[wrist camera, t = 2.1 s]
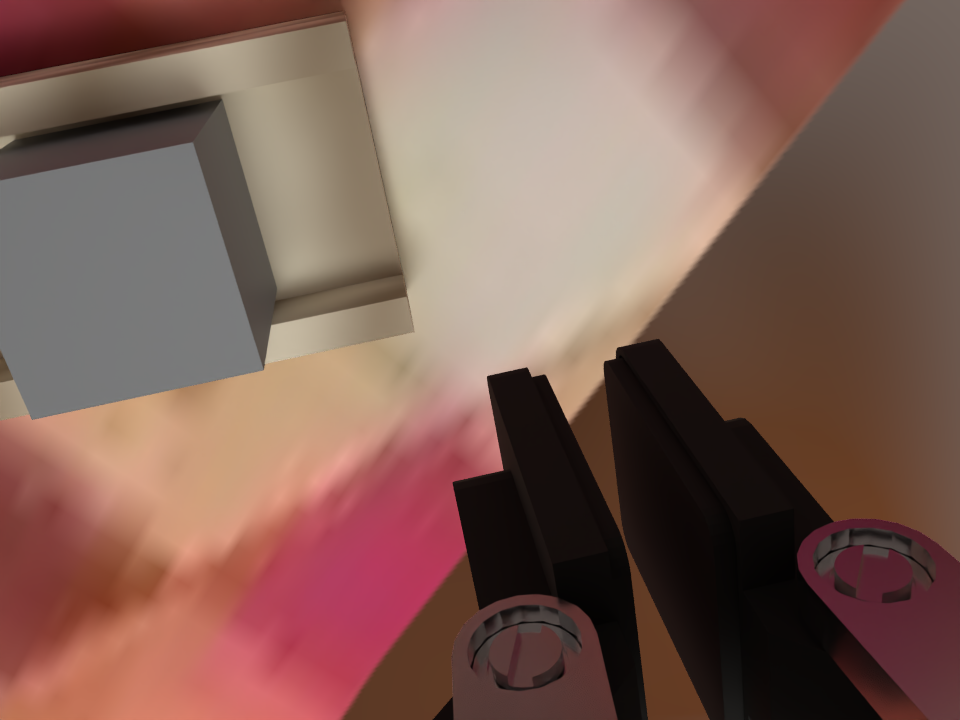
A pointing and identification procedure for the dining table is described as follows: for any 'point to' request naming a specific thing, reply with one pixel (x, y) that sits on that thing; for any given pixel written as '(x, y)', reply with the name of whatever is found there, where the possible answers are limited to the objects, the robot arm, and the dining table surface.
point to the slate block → (130, 260)
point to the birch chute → (259, 165)
